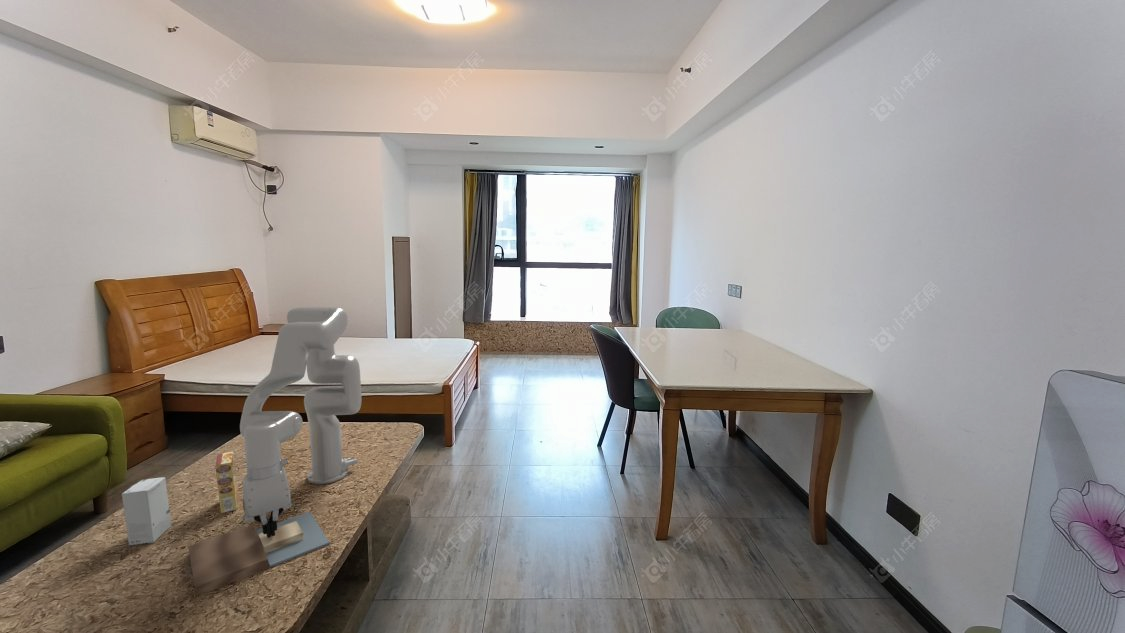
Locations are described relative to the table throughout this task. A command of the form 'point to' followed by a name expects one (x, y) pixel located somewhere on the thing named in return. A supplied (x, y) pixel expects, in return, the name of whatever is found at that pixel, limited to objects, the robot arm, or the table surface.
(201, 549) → the block
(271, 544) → the tile
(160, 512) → the skincare box
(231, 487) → the candy box
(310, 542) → the mat
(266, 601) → the table surface
